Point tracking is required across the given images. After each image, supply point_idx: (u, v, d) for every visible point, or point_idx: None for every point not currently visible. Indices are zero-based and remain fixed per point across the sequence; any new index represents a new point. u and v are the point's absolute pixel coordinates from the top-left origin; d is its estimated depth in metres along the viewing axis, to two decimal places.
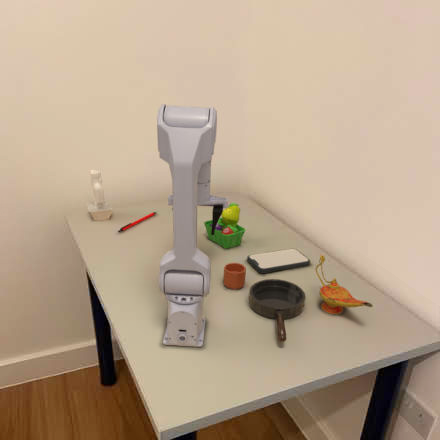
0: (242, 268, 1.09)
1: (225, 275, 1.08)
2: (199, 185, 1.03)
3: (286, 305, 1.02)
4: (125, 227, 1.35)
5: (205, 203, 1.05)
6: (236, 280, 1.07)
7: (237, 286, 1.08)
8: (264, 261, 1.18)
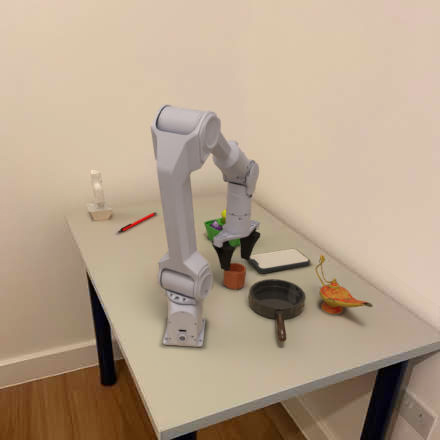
0: (242, 268, 1.09)
1: (225, 275, 1.08)
2: (249, 215, 0.99)
3: (286, 305, 1.02)
4: (125, 228, 1.35)
5: (251, 231, 1.03)
6: (236, 280, 1.07)
7: (237, 286, 1.08)
8: (264, 261, 1.18)
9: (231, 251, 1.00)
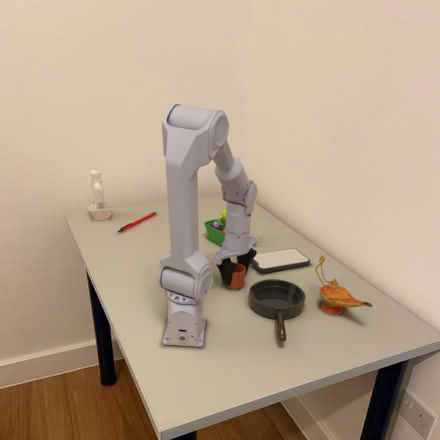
0: (242, 268, 1.09)
1: None
2: (248, 234, 1.02)
3: (286, 305, 1.02)
4: (125, 227, 1.35)
5: (249, 248, 1.05)
6: (236, 280, 1.07)
7: (237, 286, 1.08)
8: (264, 261, 1.18)
9: (232, 267, 1.03)
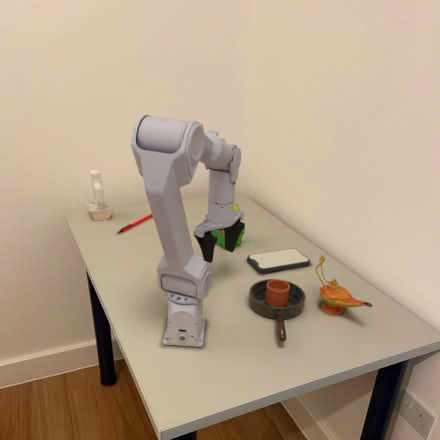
0: (285, 285, 1.02)
1: (268, 293, 1.00)
2: (232, 204, 0.95)
3: (286, 305, 1.02)
4: (125, 228, 1.35)
5: (234, 221, 0.98)
6: (280, 298, 1.00)
7: (280, 304, 1.01)
8: (264, 261, 1.18)
9: (213, 241, 0.95)
